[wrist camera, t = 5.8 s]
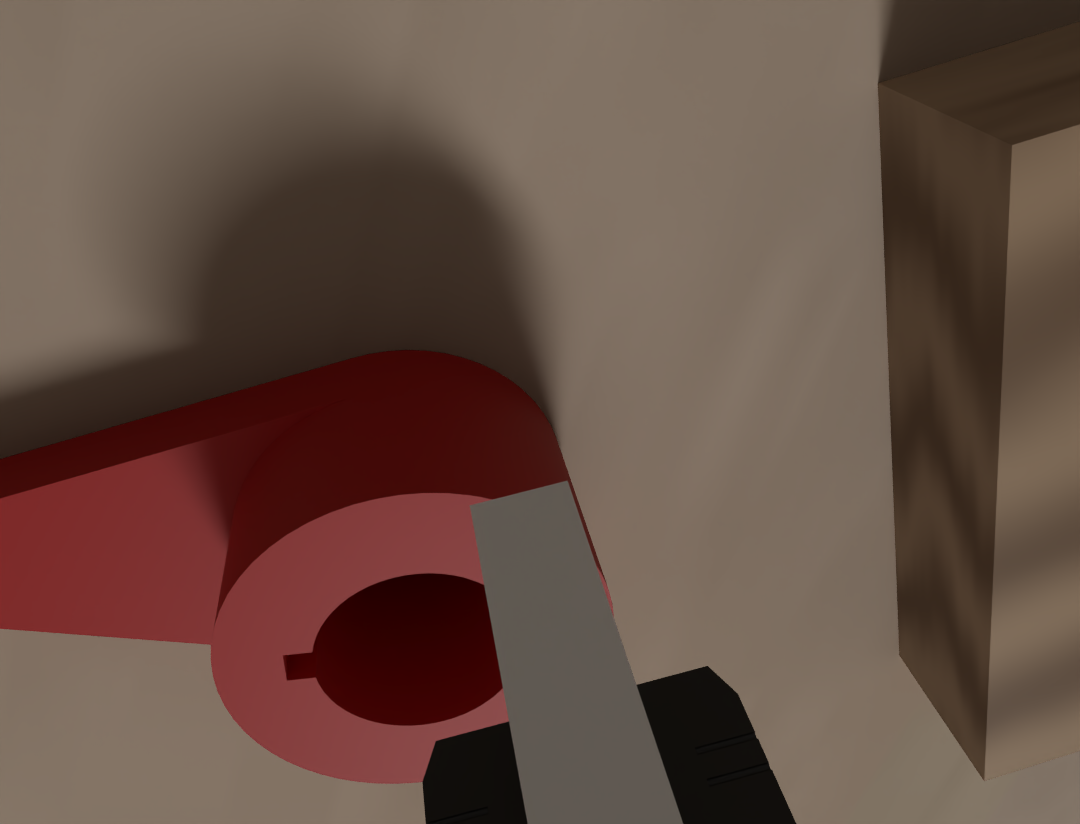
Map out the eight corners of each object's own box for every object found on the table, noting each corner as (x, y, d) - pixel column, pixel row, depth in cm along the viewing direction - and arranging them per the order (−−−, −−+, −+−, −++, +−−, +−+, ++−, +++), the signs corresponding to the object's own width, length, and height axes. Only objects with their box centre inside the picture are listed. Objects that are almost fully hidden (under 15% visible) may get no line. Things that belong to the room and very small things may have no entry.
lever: (568, 338, 26) (628, 476, 20) (555, 591, 31) (600, 758, 25) (-146, 376, 23) (-307, 550, 17) (-34, 649, 28) (-130, 853, 22)
